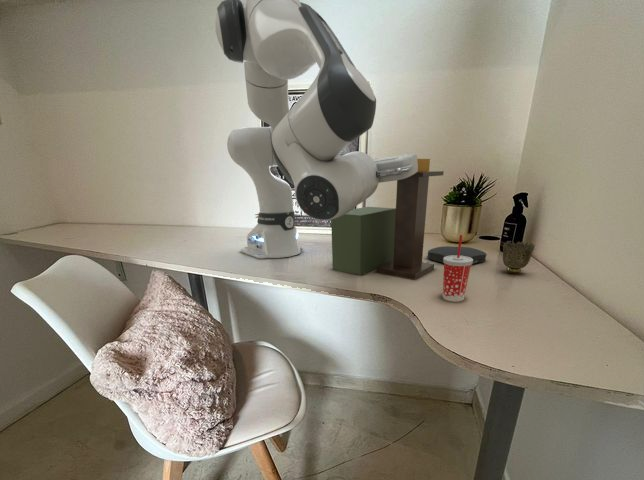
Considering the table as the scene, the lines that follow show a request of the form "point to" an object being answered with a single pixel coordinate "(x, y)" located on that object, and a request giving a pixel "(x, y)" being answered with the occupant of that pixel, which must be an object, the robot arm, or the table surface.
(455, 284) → the beverage cup
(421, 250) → the shelf stand
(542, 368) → the table surface
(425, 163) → the wooden bar
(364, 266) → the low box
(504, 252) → the cup
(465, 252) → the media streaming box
